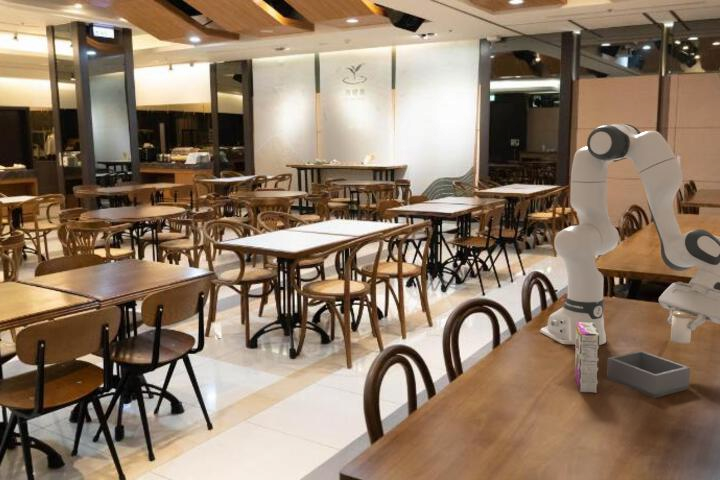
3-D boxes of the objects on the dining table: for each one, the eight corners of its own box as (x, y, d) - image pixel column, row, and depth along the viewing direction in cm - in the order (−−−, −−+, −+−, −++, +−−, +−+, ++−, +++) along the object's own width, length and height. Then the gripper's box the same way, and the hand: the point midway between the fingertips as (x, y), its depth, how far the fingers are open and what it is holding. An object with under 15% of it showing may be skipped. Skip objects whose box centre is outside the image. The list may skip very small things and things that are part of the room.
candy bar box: (573, 377, 184) (575, 321, 181) (592, 378, 183) (594, 322, 180) (578, 392, 173) (580, 333, 171) (598, 393, 172) (600, 334, 170)
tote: (606, 378, 183) (607, 357, 182) (639, 370, 188) (640, 350, 187) (654, 398, 169) (655, 376, 168) (688, 388, 174) (690, 367, 173)
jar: (666, 339, 186) (668, 312, 184) (678, 336, 188) (680, 309, 186) (682, 344, 181) (684, 316, 180) (694, 341, 183) (696, 314, 182)
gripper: (669, 273, 194) (644, 309, 191) (735, 288, 176) (707, 328, 173) (679, 286, 196) (654, 322, 194) (744, 302, 178) (717, 342, 176)
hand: (679, 325), depth 183 cm, fingers closed on jar, 5 cm apart
